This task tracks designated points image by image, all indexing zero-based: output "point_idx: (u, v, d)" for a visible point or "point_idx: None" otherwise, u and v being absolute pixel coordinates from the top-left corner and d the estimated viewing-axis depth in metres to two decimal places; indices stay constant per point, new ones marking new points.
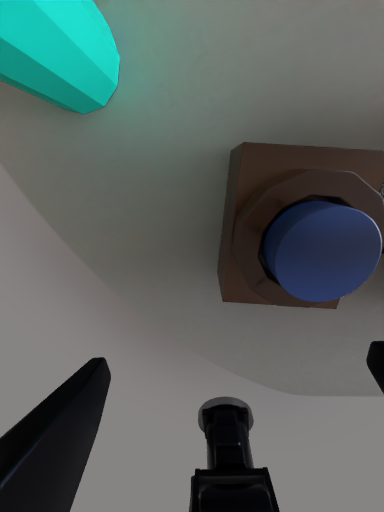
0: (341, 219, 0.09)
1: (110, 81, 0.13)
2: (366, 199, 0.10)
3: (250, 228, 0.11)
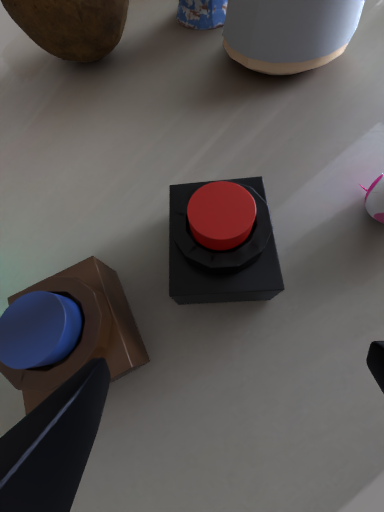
0: (25, 301, 0.14)
1: None
2: (65, 283, 0.16)
3: None
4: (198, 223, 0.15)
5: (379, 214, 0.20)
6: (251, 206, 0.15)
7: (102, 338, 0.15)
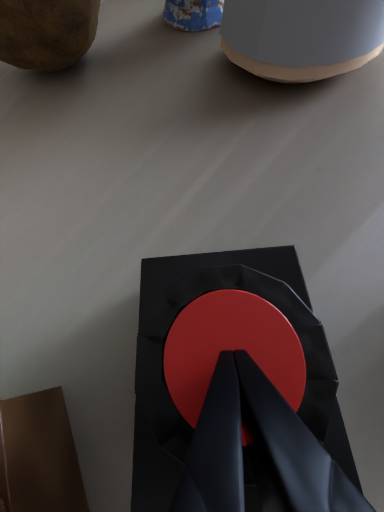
0: None
1: None
2: None
3: None
4: (187, 397, 0.07)
5: None
6: (295, 354, 0.07)
7: None
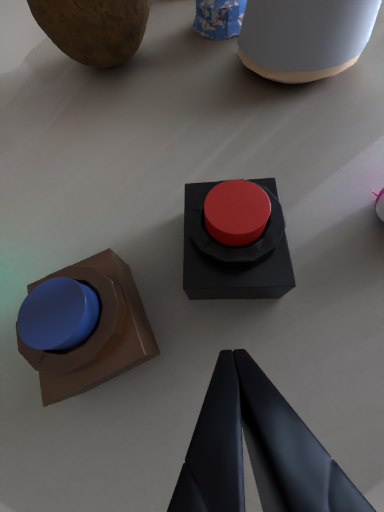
0: (47, 286, 0.15)
1: None
2: (84, 272, 0.17)
3: None
4: (215, 219, 0.16)
5: None
6: (266, 203, 0.16)
7: (118, 326, 0.16)
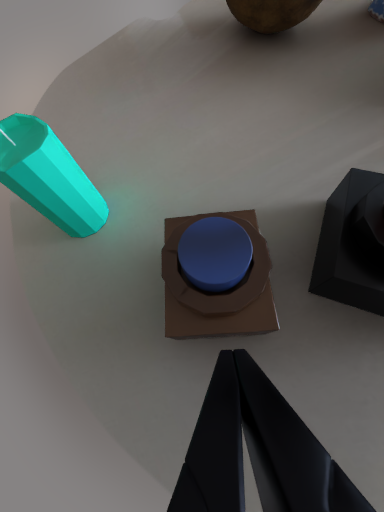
0: (212, 223, 0.14)
1: (100, 218, 0.24)
2: (238, 223, 0.16)
3: (168, 251, 0.16)
4: None
5: None
6: None
7: None
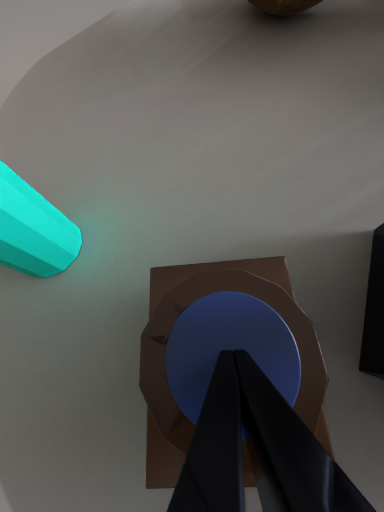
0: (225, 304, 0.08)
1: (69, 253, 0.18)
2: (265, 290, 0.10)
3: (151, 339, 0.10)
4: None
5: None
6: None
7: None
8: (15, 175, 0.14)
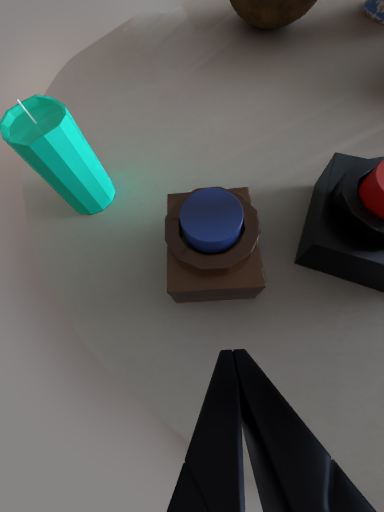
0: (209, 193, 0.17)
1: (108, 197, 0.27)
2: None
3: (170, 219, 0.18)
4: None
5: None
6: None
7: None
8: (83, 137, 0.22)
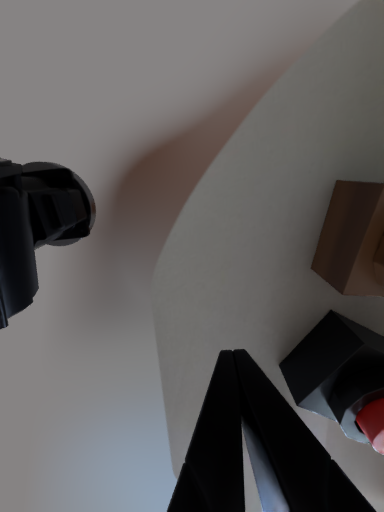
0: None
1: None
2: None
3: None
4: None
5: None
6: None
7: None
8: None
